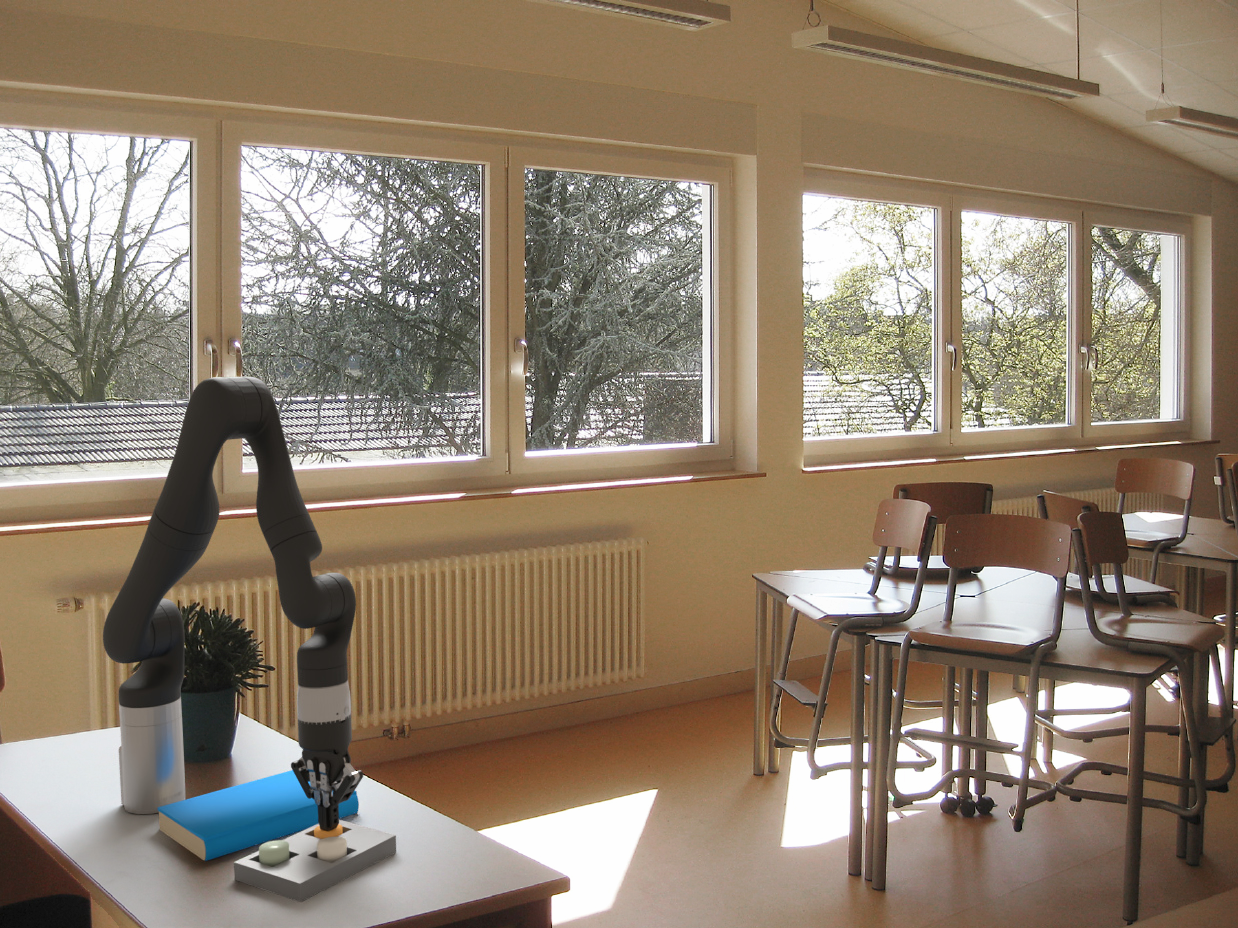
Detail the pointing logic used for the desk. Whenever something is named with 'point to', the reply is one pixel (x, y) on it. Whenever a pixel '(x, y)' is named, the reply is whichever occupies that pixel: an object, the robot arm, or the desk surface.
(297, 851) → the panel
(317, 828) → the button orange
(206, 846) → the book
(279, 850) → the button sage
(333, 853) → the button ivory
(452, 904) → the desk surface
